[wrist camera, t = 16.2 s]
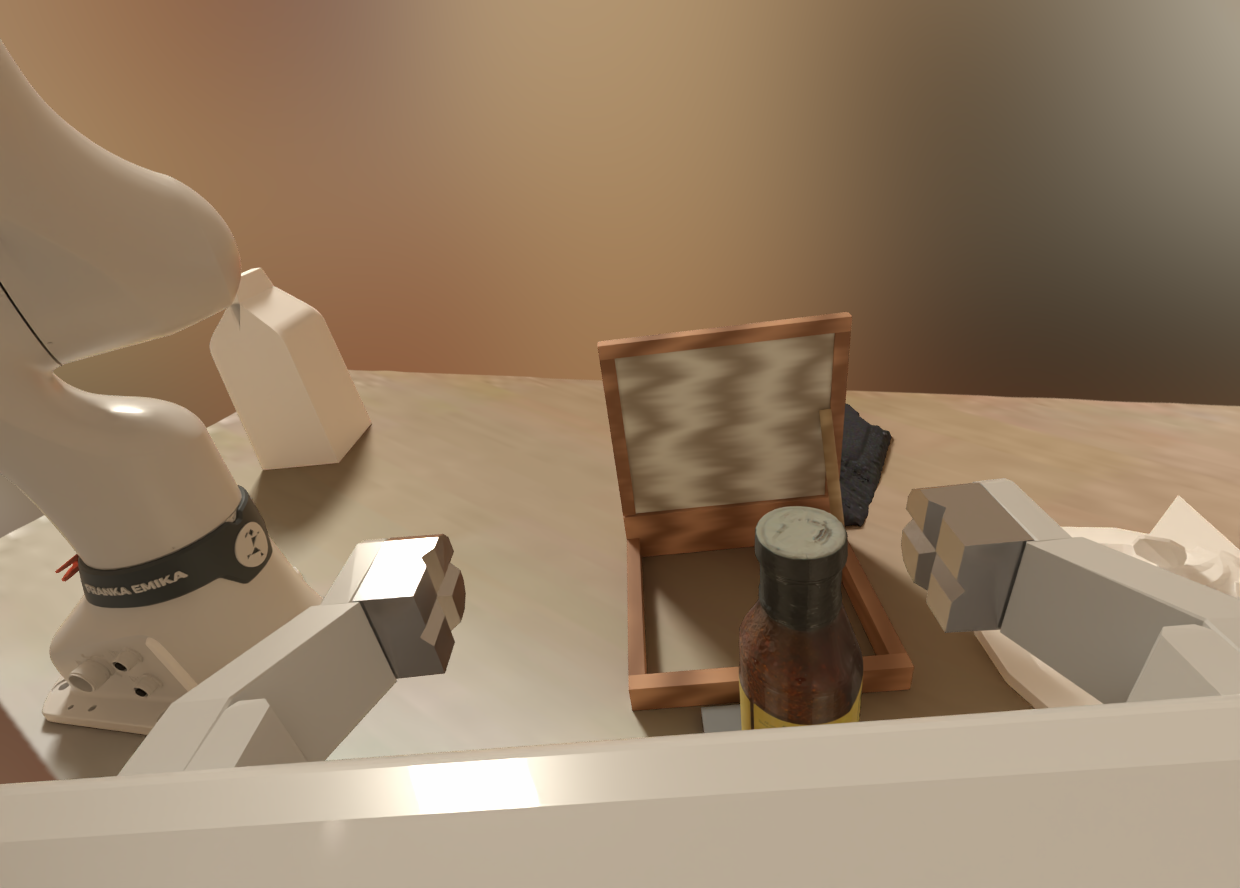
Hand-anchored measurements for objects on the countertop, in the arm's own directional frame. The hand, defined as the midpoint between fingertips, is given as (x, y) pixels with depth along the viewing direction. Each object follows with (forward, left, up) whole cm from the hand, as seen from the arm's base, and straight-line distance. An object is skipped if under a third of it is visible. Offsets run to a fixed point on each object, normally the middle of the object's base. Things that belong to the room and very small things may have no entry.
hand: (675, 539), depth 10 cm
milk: (-51, +68, -32) cm, 91 cm away
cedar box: (+6, +28, -32) cm, 43 cm away
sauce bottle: (+6, +12, -31) cm, 33 cm away
